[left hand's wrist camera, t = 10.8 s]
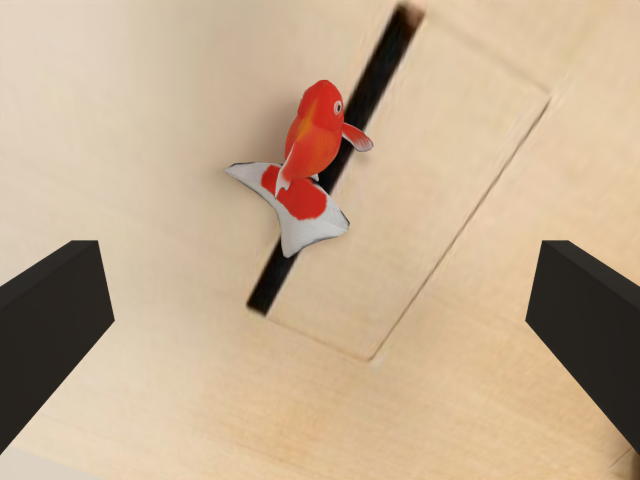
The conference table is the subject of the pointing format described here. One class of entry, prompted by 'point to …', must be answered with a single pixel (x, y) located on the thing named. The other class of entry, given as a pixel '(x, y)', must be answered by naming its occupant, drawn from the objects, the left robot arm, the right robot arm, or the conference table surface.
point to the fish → (305, 170)
